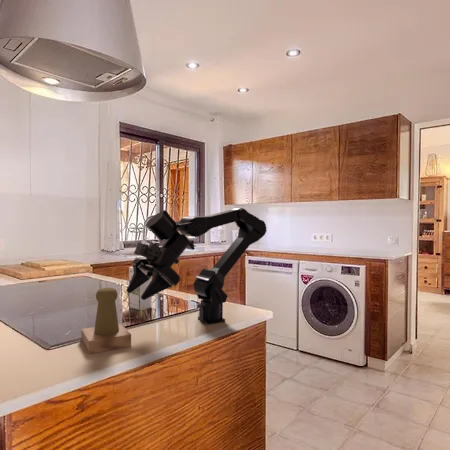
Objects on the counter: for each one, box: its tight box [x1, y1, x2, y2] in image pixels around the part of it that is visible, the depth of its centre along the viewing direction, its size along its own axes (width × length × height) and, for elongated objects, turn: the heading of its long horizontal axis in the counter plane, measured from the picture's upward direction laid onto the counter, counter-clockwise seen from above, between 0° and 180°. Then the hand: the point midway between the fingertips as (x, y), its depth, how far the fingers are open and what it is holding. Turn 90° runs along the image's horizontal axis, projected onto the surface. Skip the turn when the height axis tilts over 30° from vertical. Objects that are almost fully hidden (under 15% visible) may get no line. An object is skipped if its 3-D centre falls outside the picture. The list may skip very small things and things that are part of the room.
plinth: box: [80, 322, 132, 355], centre depth 90 cm, size 10×10×3 cm
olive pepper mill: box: [94, 287, 119, 336], centre depth 90 cm, size 6×6×11 cm
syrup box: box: [128, 266, 153, 311], centre depth 123 cm, size 6×6×14 cm
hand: (134, 295), depth 94 cm, fingers open, 9 cm apart
